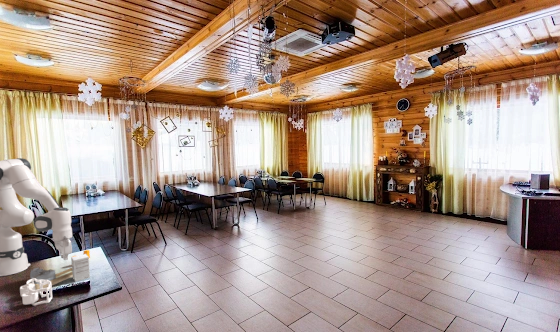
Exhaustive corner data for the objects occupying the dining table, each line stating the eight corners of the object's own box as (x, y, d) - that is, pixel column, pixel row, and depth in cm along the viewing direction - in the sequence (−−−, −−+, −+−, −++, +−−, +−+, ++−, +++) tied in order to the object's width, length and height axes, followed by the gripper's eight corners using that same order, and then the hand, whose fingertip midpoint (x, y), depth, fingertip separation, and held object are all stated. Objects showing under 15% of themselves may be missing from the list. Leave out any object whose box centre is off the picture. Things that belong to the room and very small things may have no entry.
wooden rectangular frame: (29, 289, 148) (27, 275, 147) (74, 270, 170) (73, 257, 170) (37, 291, 145) (36, 276, 145) (82, 272, 168) (82, 259, 168)
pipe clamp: (83, 259, 189) (83, 250, 189) (89, 259, 189) (89, 250, 189) (69, 266, 177) (68, 256, 177) (76, 266, 177) (75, 256, 177)
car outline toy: (20, 296, 142) (18, 282, 141) (47, 287, 150) (46, 274, 149) (24, 310, 128) (22, 295, 128) (54, 300, 136) (53, 286, 136)
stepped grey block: (34, 281, 157) (33, 268, 157) (43, 280, 158) (42, 267, 158) (30, 285, 153) (29, 271, 153) (39, 284, 154) (38, 270, 154)
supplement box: (72, 278, 160) (70, 257, 160) (87, 273, 166) (86, 253, 165) (74, 282, 155) (73, 260, 154) (90, 277, 160) (88, 256, 160)
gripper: (74, 236, 156) (76, 260, 157) (64, 231, 169) (66, 253, 170) (60, 239, 151) (62, 264, 152) (51, 233, 164) (53, 256, 165)
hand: (64, 258), depth 161 cm, fingers open, 4 cm apart
